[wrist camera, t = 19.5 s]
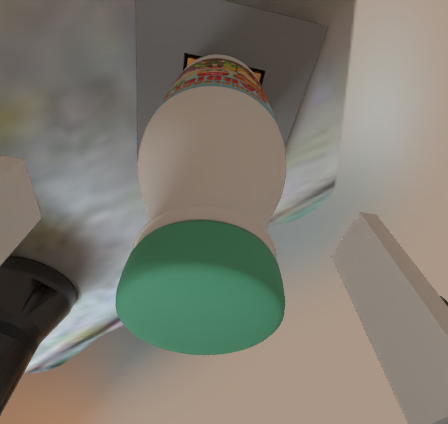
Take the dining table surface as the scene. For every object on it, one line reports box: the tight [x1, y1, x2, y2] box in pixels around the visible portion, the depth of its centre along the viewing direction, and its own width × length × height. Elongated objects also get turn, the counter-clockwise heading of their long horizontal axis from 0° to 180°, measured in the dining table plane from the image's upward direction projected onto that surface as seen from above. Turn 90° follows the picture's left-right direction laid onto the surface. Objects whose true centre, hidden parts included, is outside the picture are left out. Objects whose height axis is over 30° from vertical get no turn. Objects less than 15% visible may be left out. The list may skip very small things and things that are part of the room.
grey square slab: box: [135, 0, 328, 156], centre depth 24 cm, size 14×14×3 cm
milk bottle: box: [116, 54, 286, 355], centre depth 15 cm, size 8×8×20 cm
